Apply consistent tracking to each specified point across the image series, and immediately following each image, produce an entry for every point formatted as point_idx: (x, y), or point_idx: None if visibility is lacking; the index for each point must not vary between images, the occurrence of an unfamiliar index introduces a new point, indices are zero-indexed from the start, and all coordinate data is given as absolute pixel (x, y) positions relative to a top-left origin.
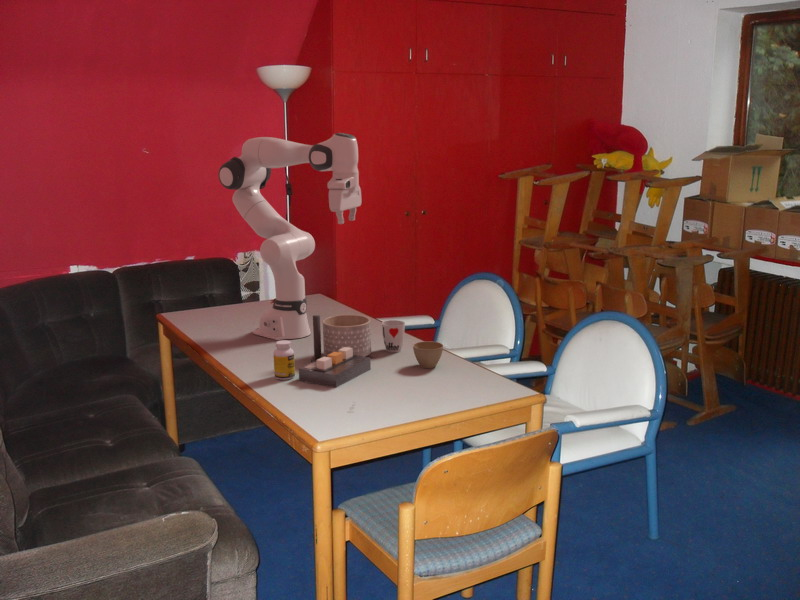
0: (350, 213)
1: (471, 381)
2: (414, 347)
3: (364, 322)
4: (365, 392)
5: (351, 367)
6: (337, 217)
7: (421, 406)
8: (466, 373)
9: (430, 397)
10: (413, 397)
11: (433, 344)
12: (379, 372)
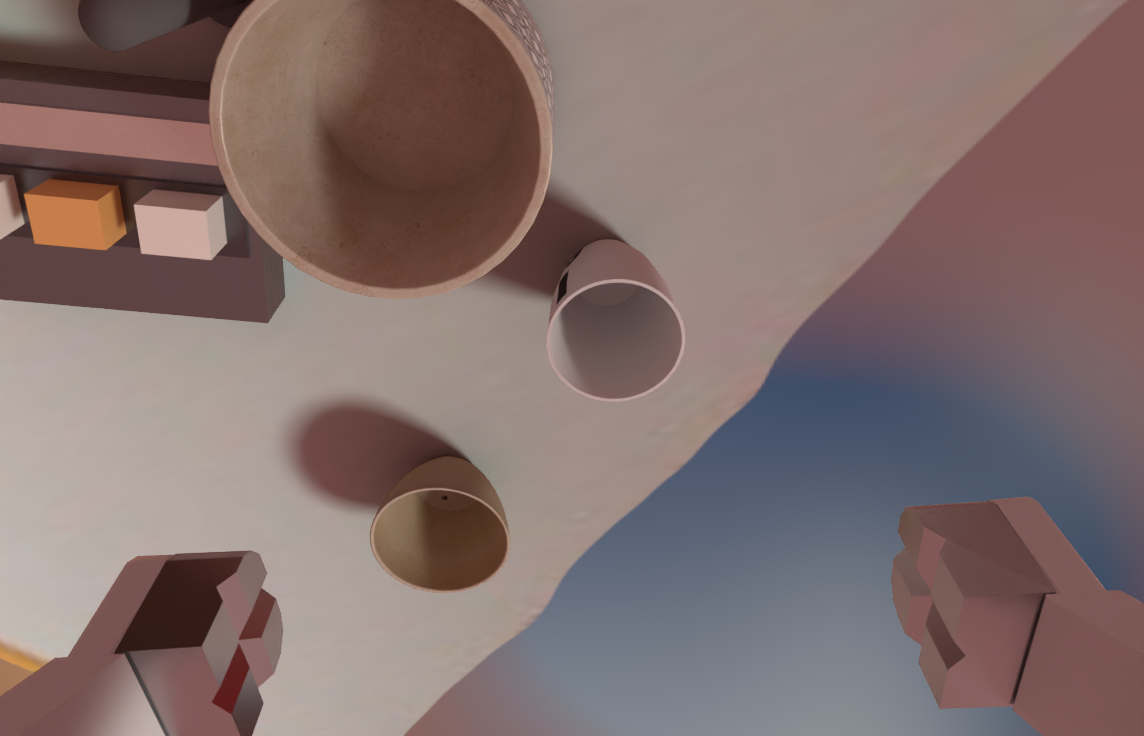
0: (1101, 654)
1: (360, 643)
2: (383, 506)
3: (515, 206)
4: (28, 396)
5: (90, 306)
6: (8, 700)
7: (50, 593)
8: (432, 611)
9: None
10: (103, 549)
11: (505, 534)
12: (270, 347)
